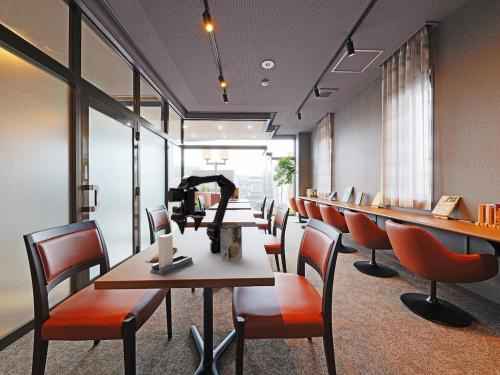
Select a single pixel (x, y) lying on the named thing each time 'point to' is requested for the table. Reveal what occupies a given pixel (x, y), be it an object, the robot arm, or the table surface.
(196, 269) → the table surface
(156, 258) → the parchment
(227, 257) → the coffee box
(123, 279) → the table surface
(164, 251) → the cream rectangular block
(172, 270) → the grey rectangular tray
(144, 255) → the table surface
